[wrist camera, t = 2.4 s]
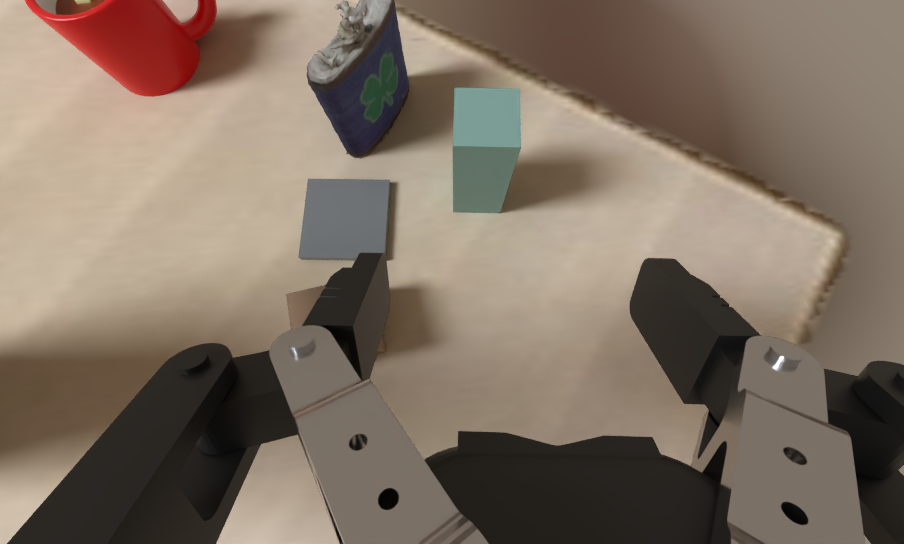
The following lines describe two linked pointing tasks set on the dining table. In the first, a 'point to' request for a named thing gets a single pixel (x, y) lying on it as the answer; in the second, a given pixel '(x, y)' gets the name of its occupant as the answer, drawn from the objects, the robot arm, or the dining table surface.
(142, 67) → the mug
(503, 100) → the teal post
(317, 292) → the walnut block
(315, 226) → the slate coaster
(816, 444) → the robot arm
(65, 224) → the dining table surface
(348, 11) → the flask
